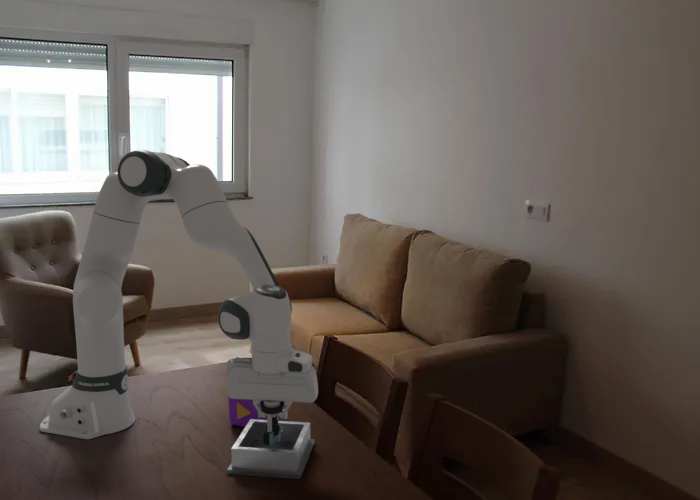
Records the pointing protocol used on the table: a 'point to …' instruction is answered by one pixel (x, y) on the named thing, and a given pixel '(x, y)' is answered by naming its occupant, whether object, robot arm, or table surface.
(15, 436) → the table surface
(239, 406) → the toy camera
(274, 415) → the push button
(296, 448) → the grey open box
